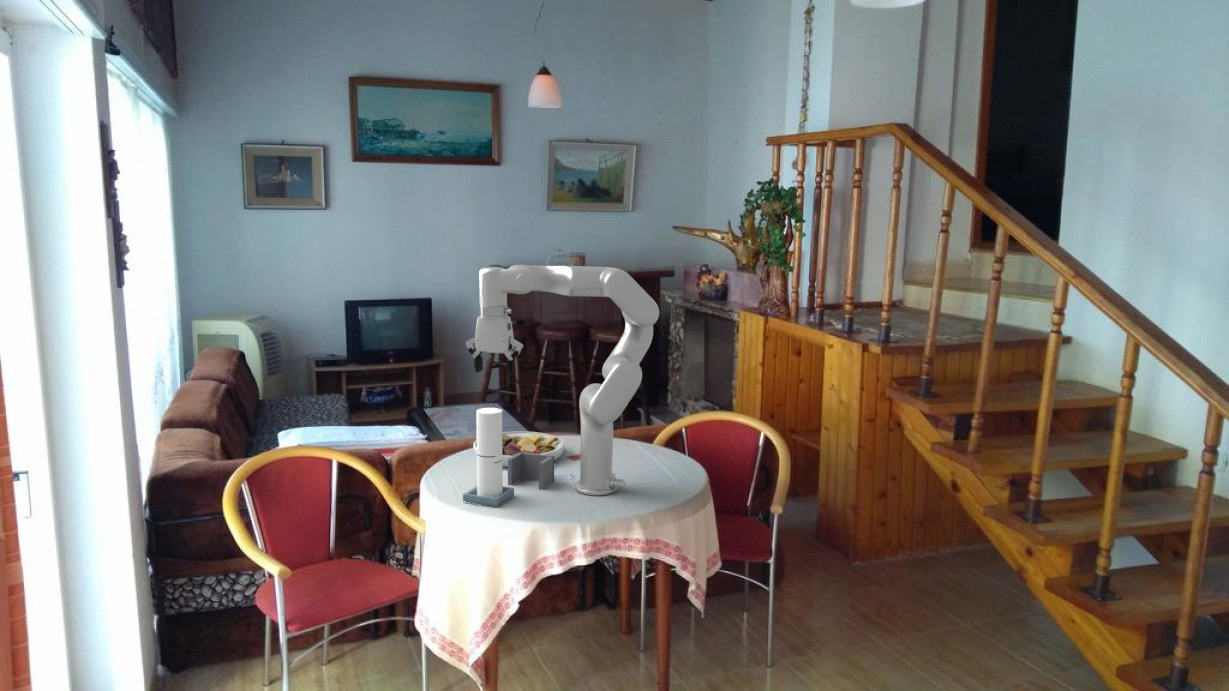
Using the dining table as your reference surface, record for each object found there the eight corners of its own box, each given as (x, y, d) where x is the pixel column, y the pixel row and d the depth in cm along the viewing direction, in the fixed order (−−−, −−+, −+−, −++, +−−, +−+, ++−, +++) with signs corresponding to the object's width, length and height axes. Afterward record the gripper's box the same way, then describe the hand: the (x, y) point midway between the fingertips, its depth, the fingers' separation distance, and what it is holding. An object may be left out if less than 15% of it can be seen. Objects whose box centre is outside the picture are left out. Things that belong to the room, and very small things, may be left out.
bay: (554, 481, 255) (554, 455, 253) (542, 489, 247) (542, 463, 246) (520, 476, 258) (520, 451, 257) (507, 484, 251) (507, 459, 249)
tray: (514, 495, 241) (514, 487, 241) (496, 507, 231) (496, 499, 231) (481, 490, 245) (481, 483, 244) (463, 502, 235) (462, 494, 234)
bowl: (482, 443, 295) (482, 422, 293) (567, 446, 294) (567, 424, 293) (465, 470, 265) (465, 446, 264) (559, 472, 264) (559, 448, 263)
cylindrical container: (474, 493, 240) (474, 408, 236) (499, 491, 243) (499, 406, 239) (479, 501, 233) (479, 414, 229) (505, 499, 236) (504, 412, 232)
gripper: (527, 311, 233) (528, 372, 236) (471, 309, 238) (473, 368, 241) (516, 314, 226) (517, 377, 229) (459, 312, 231) (460, 372, 234)
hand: (494, 372), depth 235 cm, fingers open, 9 cm apart
